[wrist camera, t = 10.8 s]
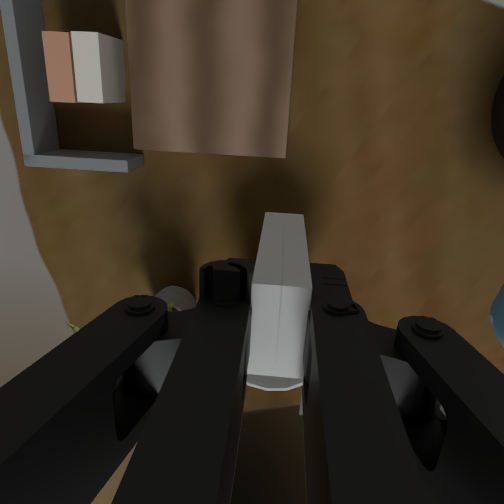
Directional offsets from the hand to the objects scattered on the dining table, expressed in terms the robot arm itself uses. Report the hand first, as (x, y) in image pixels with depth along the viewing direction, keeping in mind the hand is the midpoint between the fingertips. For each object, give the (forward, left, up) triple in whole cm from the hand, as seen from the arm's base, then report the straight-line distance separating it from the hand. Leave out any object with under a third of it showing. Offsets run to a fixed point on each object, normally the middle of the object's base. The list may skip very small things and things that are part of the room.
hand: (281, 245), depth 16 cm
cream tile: (+18, -7, -28) cm, 33 cm away
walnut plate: (+8, -7, -30) cm, 32 cm away
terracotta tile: (+20, -7, -28) cm, 35 cm away
